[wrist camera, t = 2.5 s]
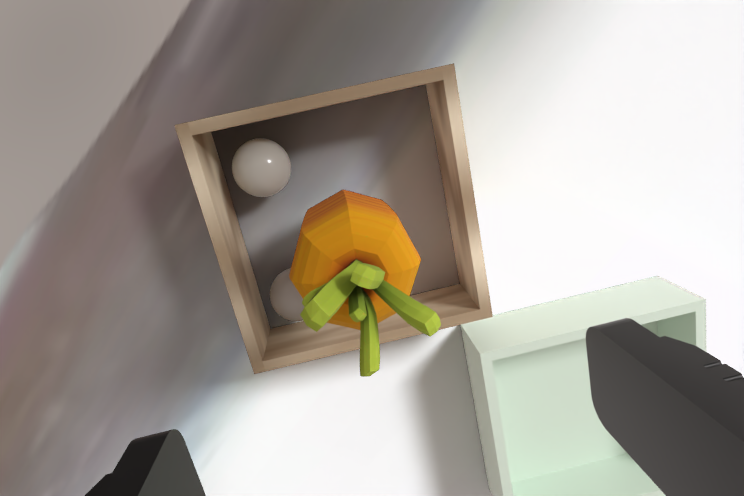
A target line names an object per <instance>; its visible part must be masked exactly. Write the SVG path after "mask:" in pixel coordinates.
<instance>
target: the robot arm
mask: <svg viewBox="0 0 744 496" xmlns="http://www.w3.org/2000/svg"><path fill="white" fill-rule="evenodd" d="M586 348H587V358H588V368H589V377H590V387H591V396H592V401H593V405H594V408H595V411H596V413H597V415H598V418H599V419H600V421H601V423H602V425H603V426H604V428H605V429H606V430H607V431H608V432H609V433H610V435H611V436H612V437H613V438H614V439H615V440H616V441H617V442H618V443H619V444H620V446H621V447H622V448H623V449H624V450H625V451H626V452H627V453H628V454H629V456H630V457H631V458H632V459H633V460H634V461H635V462H636V463H637V464H638V465H639V467H640V468H641V469H642V470H643V471H644V472H645V473H646V474H647V475H648V476H649V478H650V479H651V480H652V481H653V482H654V483H655V484H656V485H657V486H658V488H659V489H660V490H661V491H662V492H663V493H664V494H665V495H666V496H744V378H743V376H742V374H741V373H740V372H738V371H736V370H735V369H733V368H731V367H730V366H728V365H727V364H723V365H722V364H721V361H720V360H718V359H717V358H715V357H713V356H712V355H710V354H709V353H707V352H705V351H704V350H702V349H700V348H699V347H697V346H695V345H692V344H689V343H686V342H683V341H680V340H677V339H673V338H670V337H667V336H662V337H659V336H657V335H656V334H654V333H652V332H651V331H649V330H648V329H646V328H645V327H643V326H642V325H640V324H639V323H637V322H636V321H634V320H632V319H630V318H624V319H620V320H616V321H612V322H608V323H604V324H600V325H596V326H592V327H589V328H588V329H587V331H586ZM85 496H205V493H204V490H203V487H202V485H201V482H200V480H199V477H198V474H197V472H196V469H195V467H194V464H193V461H192V459H191V456H190V454H189V451H188V449H187V446H186V443H185V441H184V438H183V436H182V435H181V433H180V432H179V431H178V430H175V429H173V430H169V431H165V432H161V433H157V434H153V435H149V436H145V437H141V438H137V439H134V440H132V441H131V442H130V444H129V445H128V447H127V449H126V450H125V452H124V454H123V456H122V457H121V459H120V461H119V462H118V464H117V466H116V467H115V469H114V471H113V472H112V473H111V474H107V475H105V476H104V477H103V478H102V479H101V480H100V481H99V482H98V483H97V484H96V485H95V486H94V487H93V488H92V489H91V490H90V491H89V492H88V493H87V494H86V495H85Z"/></svg>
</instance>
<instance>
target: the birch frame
mask: <svg viewBox="0 0 744 496" xmlns="http://www.w3.org/2000/svg"><path fill="white" fill-rule="evenodd" d="M421 85H426V89H427V94H428V100H429V106H430V112H431V118H432V124H433V130H434V135H435V141H436V147H437V153H438V159H439V165H440V171H441V176H442V182H443V188H444V194H445V200H446V206H447V212H448V218H449V223H450V229H451V235H452V241H453V247H454V253H455V259H456V264H457V270H458V276H459V282H460V284H457V285H453V286H449V287H444V288H440V289H436V290H432V291H428V292H423V293H419V294H415V295H411V296H410V297H411V298H413V299H414V300H416V301H418V302H420V303H421V304H423V305H425V306H427V307H429V308H430V309H432V310H433V311H435V312H436V313H437V315H438V316H439V318H440V322H441V326H440V327H439V329H438V330H440V329H444V328H449V327H453V326H457V325H461V324H465V323H469V322H474V321H478V320H482V319H486V318H490V317H493V316H492V309H491V303H490V296H489V290H488V283H487V277H486V270H485V264H484V257H483V251H482V244H481V237H480V231H479V224H478V218H477V211H476V205H475V198H474V192H473V185H472V178H471V172H470V165H469V159H468V152H467V146H466V139H465V133H464V126H463V120H462V113H461V106H460V100H459V93H458V87H457V80H456V74H455V67H454V64H449V65H445V66H440V67H436V68H431V69H427V70H422V71H418V72H413V73H409V74H404V75H399V76H395V77H390V78H386V79H381V80H377V81H372V82H368V83H363V84H359V85H354V86H350V87H345V88H340V89H336V90H331V91H327V92H322V93H318V94H313V95H309V96H304V97H300V98H295V99H291V100H286V101H281V102H277V103H272V104H268V105H263V106H259V107H254V108H250V109H245V110H241V111H236V112H232V113H227V114H222V115H218V116H213V117H209V118H204V119H200V120H195V121H191V122H186V123H182V124H177V125H175V129H176V132H177V135H178V138H179V141H180V144H181V147H182V150H183V153H184V157H185V160H186V163H187V166H188V169H189V172H190V175H191V178H192V181H193V185H194V188H195V191H196V194H197V197H198V200H199V203H200V206H201V210H202V213H203V216H204V219H205V222H206V225H207V228H208V231H209V234H210V238H211V241H212V244H213V247H214V250H215V253H216V256H217V259H218V262H219V266H220V269H221V272H222V275H223V278H224V281H225V284H226V287H227V290H228V294H229V297H230V300H231V303H232V306H233V309H234V312H235V315H236V319H237V322H238V325H239V328H240V331H241V334H242V337H243V340H244V343H245V347H246V350H247V353H248V356H249V359H250V362H251V365H252V368H253V371H254V374H257V373H261V372H265V371H270V370H274V369H278V368H282V367H286V366H290V365H295V364H299V363H303V362H307V361H311V360H315V359H320V358H324V357H328V356H332V355H336V354H340V353H345V352H349V351H353V350H357V349H360V330H358V329H353V328H349V327H344V326H339V325H335V324H330V323H326V324H325V325H324V326H323V327H322V328H321V329H319V330H318V331H317V332H316V331H314V330H313V329H311V328H310V327H308V326H307V325H306V324H305V322H304V321H301V322H297V323H293V324H288V325H284V326H280V327H276V328H271V329H270V326H269V322H268V319H267V316H266V312H265V309H264V306H263V302H262V299H261V296H260V293H259V289H258V286H257V283H256V279H255V276H254V273H253V269H252V266H251V263H250V259H249V256H248V253H247V249H246V246H245V243H244V239H243V236H242V233H241V229H240V226H239V223H238V219H237V216H236V213H235V209H234V206H233V203H232V199H231V196H230V193H229V189H228V186H227V183H226V180H225V176H224V173H223V170H222V166H221V163H220V160H219V156H218V153H217V150H216V146H215V143H214V140H213V136H212V133H211V132H214V131H218V130H223V129H227V128H232V127H236V126H241V125H245V124H250V123H254V122H259V121H263V120H268V119H272V118H277V117H281V116H286V115H290V114H295V113H299V112H304V111H309V110H313V109H318V108H322V107H327V106H331V105H336V104H340V103H345V102H349V101H354V100H358V99H363V98H367V97H372V96H376V95H381V94H385V93H390V92H394V91H399V90H403V89H408V88H412V87H417V86H421ZM378 333H379V344H382V343H386V342H390V341H395V340H399V339H403V338H407V337H411V336H415V335H420V334H424V333H422V332H420V331H418V330H417V329H415V328H414V327H412V326H411V325H409V324H408V323H407V322H406V321H405V320H403V319H402V318H401V317H400V316H399V315H398V314H397V313H396V314H394V315H392V316H390V317H388V318H387V319H385V320H383V321H381V322H379V323H378Z"/></svg>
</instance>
